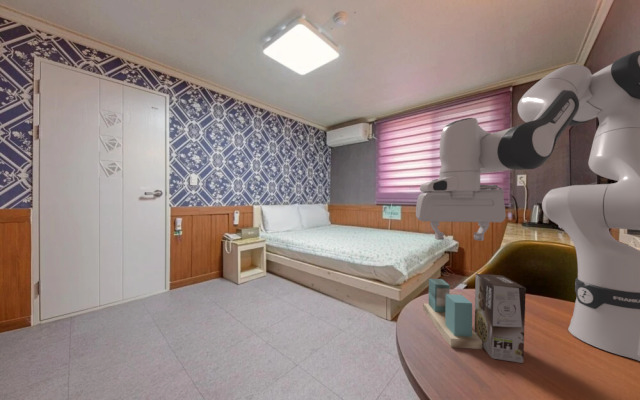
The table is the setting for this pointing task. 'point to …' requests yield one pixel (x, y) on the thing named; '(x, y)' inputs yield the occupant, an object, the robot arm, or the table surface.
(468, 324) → the teal block white top
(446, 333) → the rail
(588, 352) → the table surface
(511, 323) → the coffee box
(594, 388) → the table surface
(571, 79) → the robot arm
